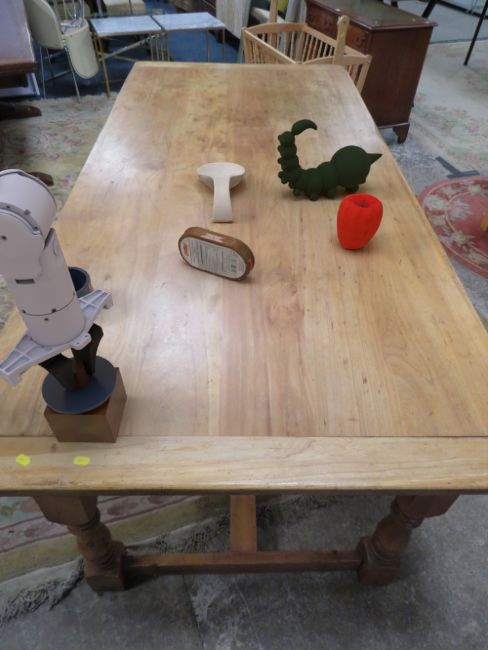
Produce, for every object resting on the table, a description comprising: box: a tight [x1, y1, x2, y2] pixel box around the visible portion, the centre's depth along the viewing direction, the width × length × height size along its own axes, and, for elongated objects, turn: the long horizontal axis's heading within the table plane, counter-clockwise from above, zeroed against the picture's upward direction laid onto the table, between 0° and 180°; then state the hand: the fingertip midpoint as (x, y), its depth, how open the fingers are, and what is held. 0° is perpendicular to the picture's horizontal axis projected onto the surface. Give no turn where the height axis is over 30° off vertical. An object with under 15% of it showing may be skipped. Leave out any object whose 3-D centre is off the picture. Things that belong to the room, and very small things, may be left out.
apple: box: [336, 192, 384, 250], centre depth 87 cm, size 9×9×11 cm
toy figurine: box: [276, 118, 383, 201], centre depth 100 cm, size 9×19×25 cm
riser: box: [42, 366, 128, 444], centre depth 58 cm, size 8×8×6 cm
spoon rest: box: [196, 161, 246, 223], centre depth 101 cm, size 24×12×7 cm, turn 4°
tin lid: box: [41, 354, 117, 414], centre depth 53 cm, size 9×9×4 cm
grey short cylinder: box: [67, 265, 95, 299], centre depth 74 cm, size 8×8×5 cm
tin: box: [177, 226, 256, 281], centre depth 80 cm, size 15×3×8 cm, turn 65°
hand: (78, 379), depth 54 cm, fingers closed on tin lid, 2 cm apart
